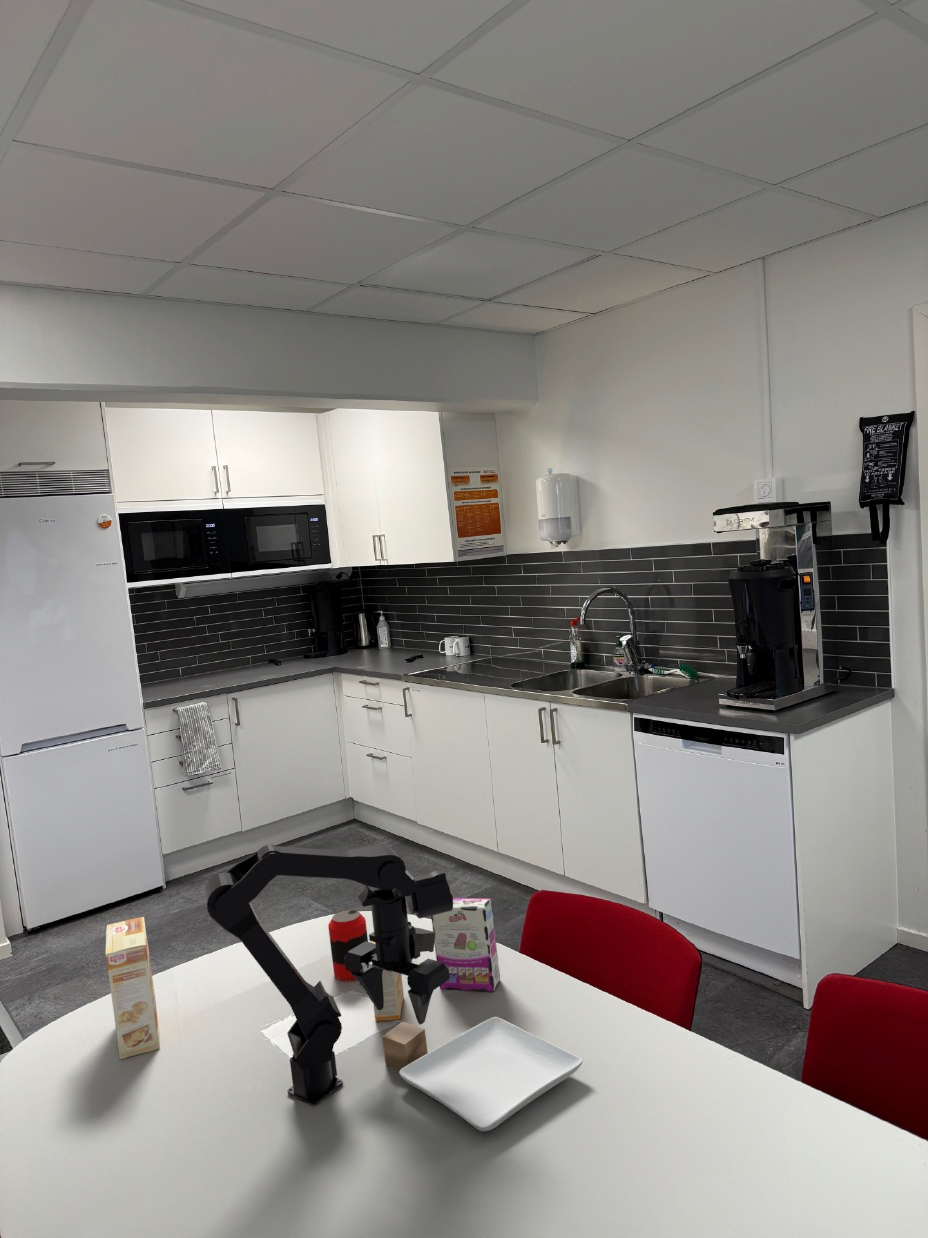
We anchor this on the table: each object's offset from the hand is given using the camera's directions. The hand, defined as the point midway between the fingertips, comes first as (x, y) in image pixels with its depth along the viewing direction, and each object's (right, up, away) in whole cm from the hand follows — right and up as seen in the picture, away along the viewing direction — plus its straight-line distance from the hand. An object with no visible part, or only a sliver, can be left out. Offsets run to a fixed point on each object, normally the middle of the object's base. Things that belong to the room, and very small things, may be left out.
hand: (400, 1016), depth 142 cm
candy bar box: (+12, -5, +24) cm, 27 cm away
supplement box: (-3, -7, +18) cm, 20 cm away
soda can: (-12, -7, +34) cm, 37 cm away
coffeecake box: (-50, -12, +18) cm, 55 cm away
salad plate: (+15, -7, -8) cm, 18 cm away
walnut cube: (+1, -8, +1) cm, 8 cm away
